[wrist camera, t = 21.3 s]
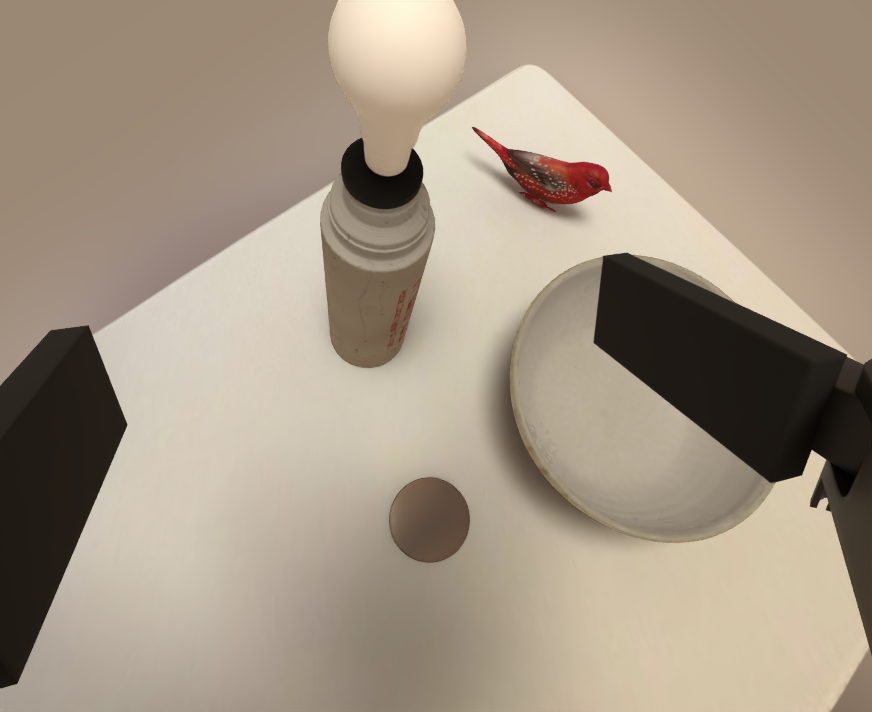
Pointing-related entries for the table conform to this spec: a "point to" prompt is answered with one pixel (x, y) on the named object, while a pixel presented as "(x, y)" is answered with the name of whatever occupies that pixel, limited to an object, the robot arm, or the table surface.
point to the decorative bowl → (618, 425)
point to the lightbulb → (396, 70)
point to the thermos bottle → (374, 255)
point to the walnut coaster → (429, 520)
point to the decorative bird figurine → (550, 175)
